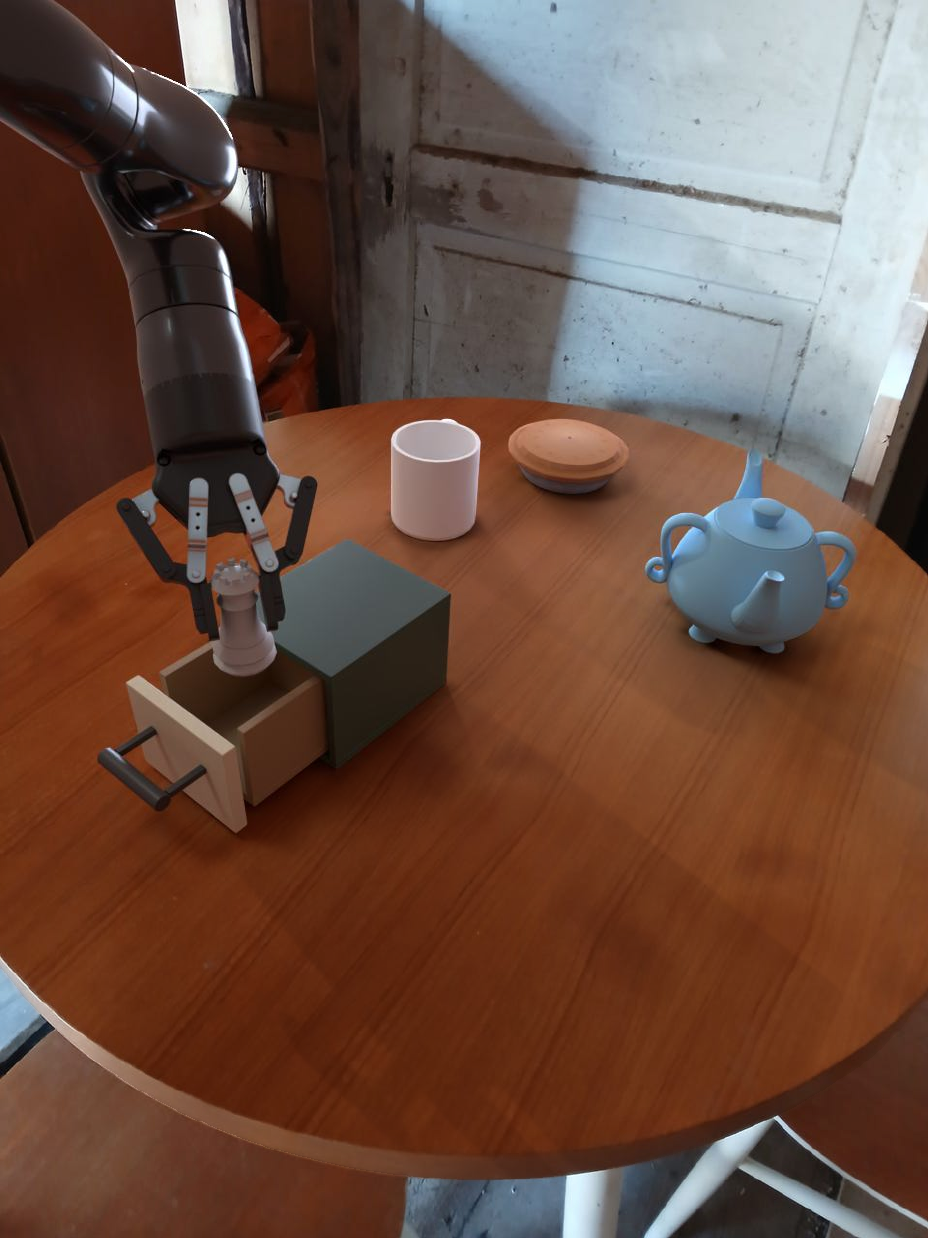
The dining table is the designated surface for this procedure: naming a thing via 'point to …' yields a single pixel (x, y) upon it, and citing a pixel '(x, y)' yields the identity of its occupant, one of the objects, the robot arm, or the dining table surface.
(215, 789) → the drawer
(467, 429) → the mug
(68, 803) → the dining table surface
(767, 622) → the teapot
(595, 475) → the pie
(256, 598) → the rook chess piece
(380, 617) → the cabinet
